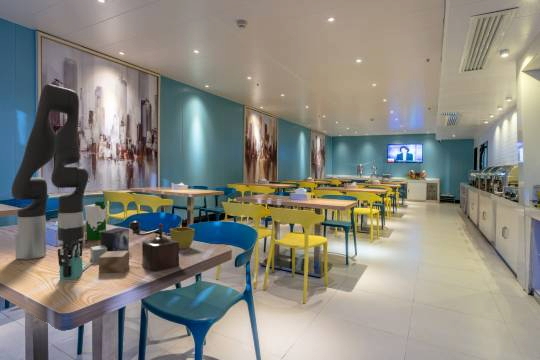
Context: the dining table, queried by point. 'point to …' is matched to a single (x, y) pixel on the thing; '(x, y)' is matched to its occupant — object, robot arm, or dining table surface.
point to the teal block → (73, 268)
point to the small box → (115, 239)
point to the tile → (85, 266)
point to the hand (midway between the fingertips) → (71, 273)
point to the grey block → (97, 252)
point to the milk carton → (95, 220)
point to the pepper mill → (157, 250)
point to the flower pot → (182, 236)
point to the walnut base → (113, 262)
